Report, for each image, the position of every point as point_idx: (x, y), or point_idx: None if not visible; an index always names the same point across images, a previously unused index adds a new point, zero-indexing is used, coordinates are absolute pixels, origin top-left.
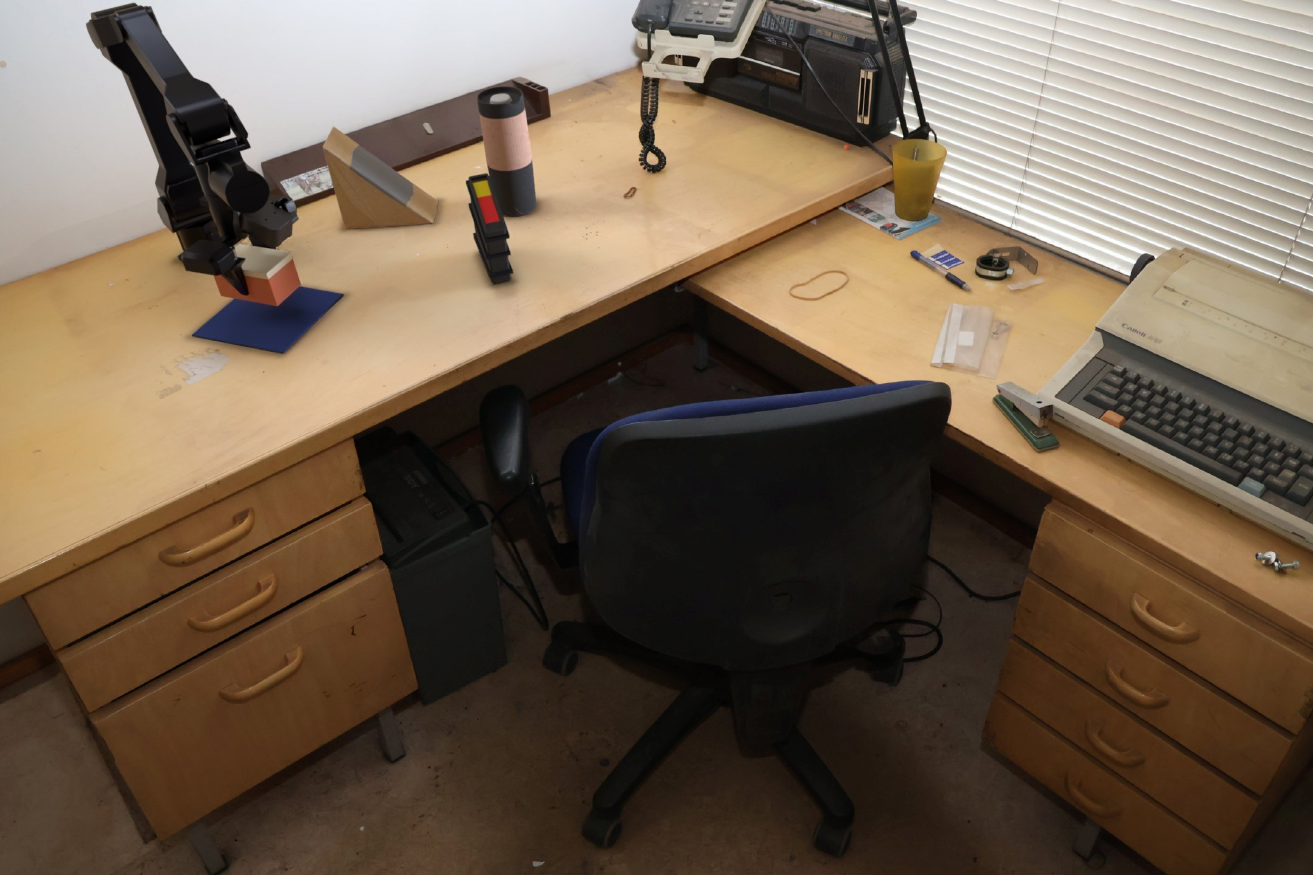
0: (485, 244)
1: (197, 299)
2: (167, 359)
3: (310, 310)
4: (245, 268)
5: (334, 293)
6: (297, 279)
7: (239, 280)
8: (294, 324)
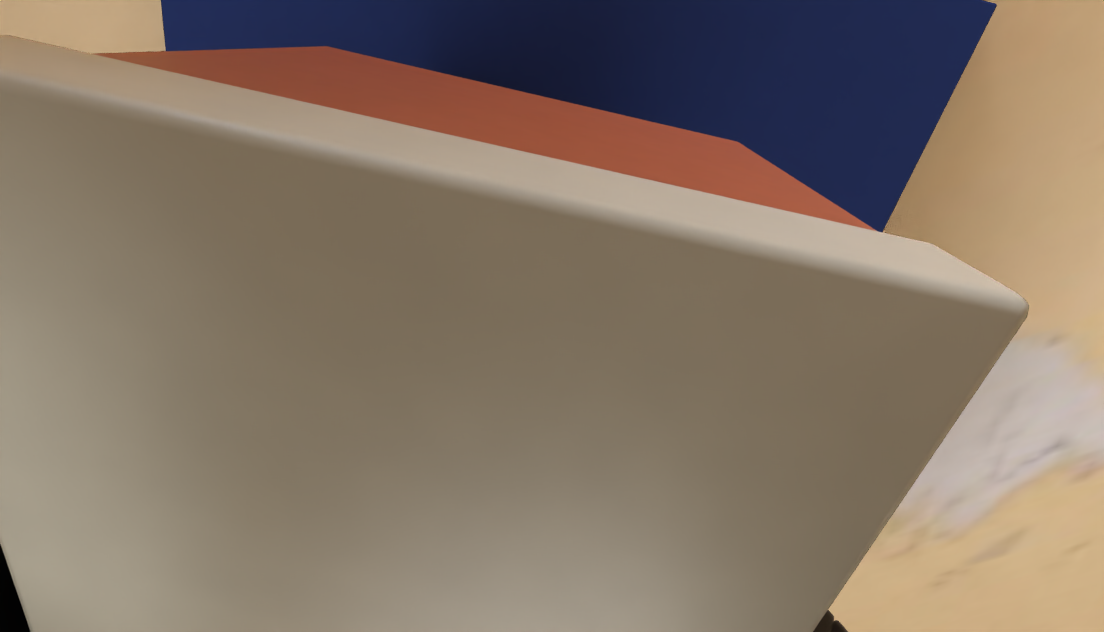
0: None
1: None
2: (884, 582)
3: (436, 10)
4: None
5: None
6: (319, 53)
7: (840, 629)
8: (626, 65)
